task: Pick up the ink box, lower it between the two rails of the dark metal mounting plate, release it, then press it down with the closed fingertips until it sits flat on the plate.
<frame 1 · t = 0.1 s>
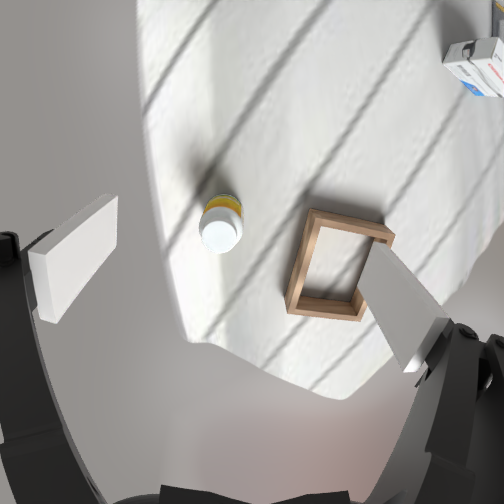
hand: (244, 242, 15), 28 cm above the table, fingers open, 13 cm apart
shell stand: (334, 262, 47), on the table
ink box: (463, 69, 34), on the table
supplement bottle: (224, 210, 44), on the table
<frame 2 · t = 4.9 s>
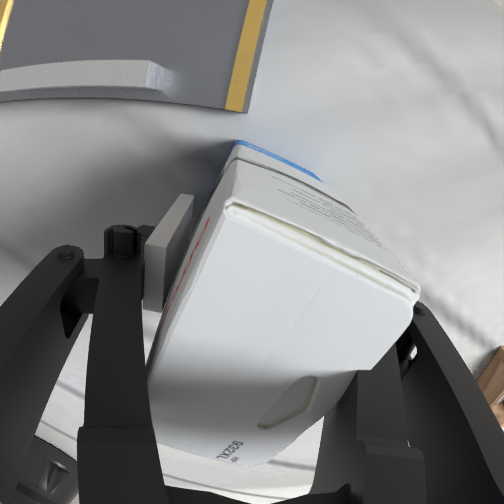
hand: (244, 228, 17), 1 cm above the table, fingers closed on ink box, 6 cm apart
ink box: (244, 221, 18), on the table, touching gripper
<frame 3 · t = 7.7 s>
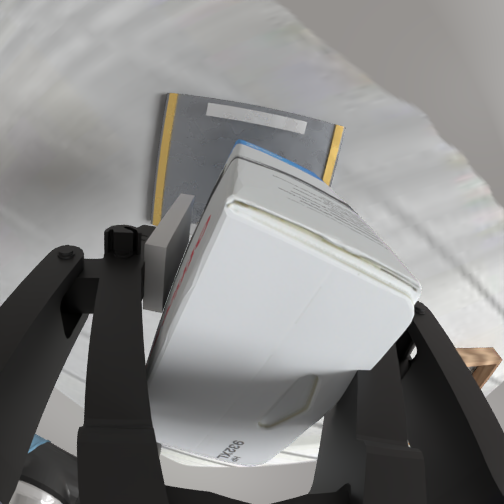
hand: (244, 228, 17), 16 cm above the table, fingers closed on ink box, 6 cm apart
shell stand: (455, 371, 48), on the table
rail mount: (244, 171, 31), on the table
ink box: (244, 221, 18), point 15 cm above the table, touching gripper
when the fingers open (3 cm above the table, at t = 10.3 s): ink box drops 1 cm, resting on rail mount.
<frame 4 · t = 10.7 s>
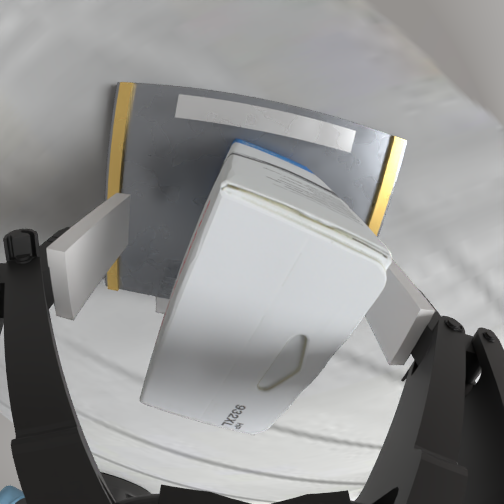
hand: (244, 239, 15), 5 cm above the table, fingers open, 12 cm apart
rail mount: (244, 209, 20), on the table
ink box: (244, 214, 19), point 1 cm above the table, touching rail mount
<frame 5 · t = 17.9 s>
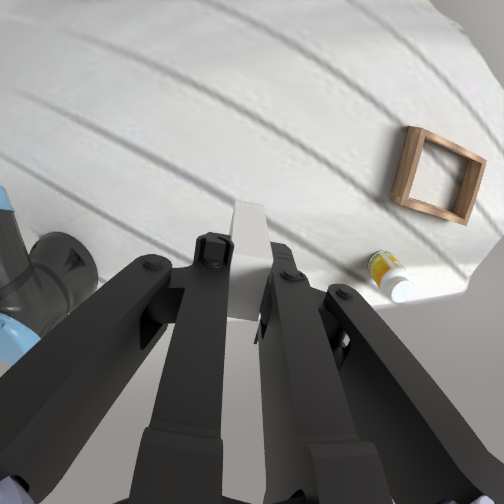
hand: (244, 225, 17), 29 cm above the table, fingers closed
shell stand: (435, 175, 45), on the table
supplement bottle: (380, 262, 52), on the table
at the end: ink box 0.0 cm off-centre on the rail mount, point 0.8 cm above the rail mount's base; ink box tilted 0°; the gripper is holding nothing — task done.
